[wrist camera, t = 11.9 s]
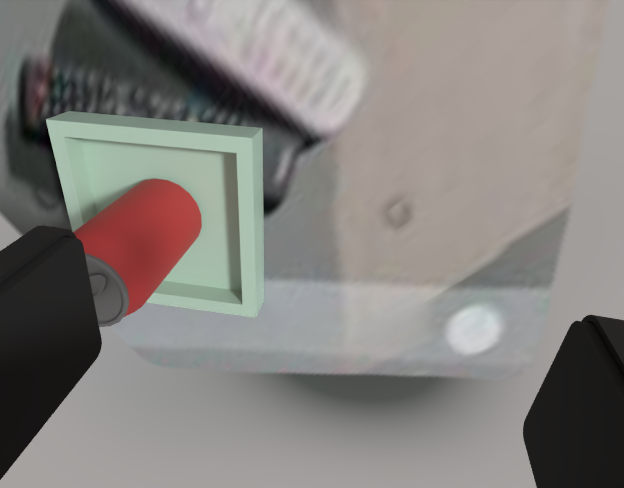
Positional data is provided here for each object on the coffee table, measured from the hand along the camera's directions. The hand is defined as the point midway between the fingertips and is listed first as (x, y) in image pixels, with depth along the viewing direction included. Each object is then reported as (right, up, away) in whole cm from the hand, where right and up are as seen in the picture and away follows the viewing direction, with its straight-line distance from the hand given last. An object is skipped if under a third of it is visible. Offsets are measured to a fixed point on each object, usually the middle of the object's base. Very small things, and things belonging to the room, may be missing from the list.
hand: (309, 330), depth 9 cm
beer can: (-12, +4, +30) cm, 33 cm away
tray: (-12, +4, +31) cm, 33 cm away
